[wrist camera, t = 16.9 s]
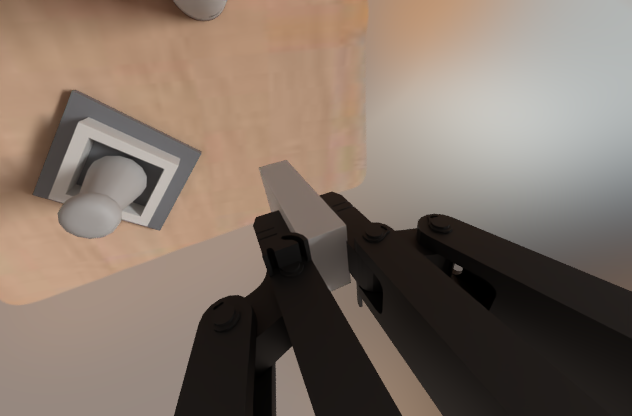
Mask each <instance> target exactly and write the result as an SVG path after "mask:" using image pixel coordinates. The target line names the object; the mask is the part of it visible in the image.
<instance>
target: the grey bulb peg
mask: <svg viewBox="0 0 632 416" xmlns="http://www.w3.org/2000/svg"><path fill="white" fill-rule="evenodd" d="M146 183H147V176H146V174H145V172H144V170H143V168H142V167H141V166H140V165H138V164H137V163H136V162H134V161H133V160H131V159H128V158H125V157H122V156H104V157H102V158H100V159H98V160H96V161H94V162H93V163H92V165H91V166H90V167H89V169H88V170H87V173H86V176H85V179H84V182H83V184H82V187H81V190H80V193H79V194H77V195H75V196H73V197H71V198H69V199H68V200H66V201H65V202H64V204H63V205H62V207H61V208H60V210H59V212H58V220H59V223H60V225H61V226H62V227H63V228H64V229H65V231H67V232H69V233H71V234H73V235H75V236H77V237H83V238H88V239H93V238H101V237H104V236H106V235H108V234H110V233H112V232H113V231H114V230H115V229H116V228H117V226H118V225H119V223H120V222H121V219H122V211H123V210H124V209H125V208H126V207H127V206H128V205H129V204H131V203H132V202H133V201H134V200H135V199H136V198H137V197H139V196H140V195H141V194H142V192H143V191H144V189H145V188H146Z"/></svg>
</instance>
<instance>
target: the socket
mask: <svg viewBox="0 0 632 416" xmlns="http://www.w3.org/2000/svg"><path fill="white" fill-rule="evenodd" d="M200 155H201V151H199V150H197V149H195V148H193V147H191V146H189V145H187V144H185V143H183V142H181V141H179V140H177V139H175V138H173V137H171V136H169V135H167V134H165V133H163V132H161V131H159V130H157V129H155V128H153V127H151V126H148V125H146V124H144V123H142V122H140V121H138V120H136V119H134V118H132V117H130V116H128V115H126V114H124V113H122V112H120V111H118V110H116V109H114V108H112V107H110V106H108V105H106V104H104V103H102V102H100V101H98V100H96V99H94V98H92V97H90V96H88V95H85V94H83V93H81V92H79V91H77V90H72V92H71V95H70V98H69V100H68V103H67V105H66V108H65V111H64V113H63V116H62V119H61V121H60V124H59V127H58V129H57V132H56V134H55V137H54V140H53V142H52V145H51V148H50V150H49V153H48V156H47V158H46V161H45V163H44V166H43V169H42V171H41V174H40V177H39V179H38V182H37V185H36V187H35V190H34V192H33V195H35V196H38V197H42V198H45V199H49V200H53V201H56V202H60V203H63V204H64V202H65V201H66V200H68V199H69V198H71V197H73V196H75V195H77V194H79V193H80V190H81V187H82V184H83V182H84V179H85V176H86V173H87V170H88V169H89V167H90V166H91V165H92V163H93V162H94V161H96V160H98V159H100V158H102V157H104V156H122V157H125V158H128V159H131V160H133V161H134V162H136V163H137V164H138V165H140V166H141V167H142V168H143V170H144V172H145V174H146V176H147V183H146V188H145V189H144V191H143V192H142V194H141V195H140V196H139V197H137V198H136V199H135V200H134V201H133V202H132V203H131V204H129V205H128V206H127V207H126V208H125V209H124V210H123V211H122V219H121V220H124V221H128V222H131V223H135V224H138V225H142V226H146V227H149V228H153V229H156V230H161V228H162V226H163V224H164V222H165V220H166V219H167V217H168V215H169V213H170V211H171V209H172V207H173V205H174V204H175V202H176V200H177V198H178V196H179V194H180V192H181V190H182V189H183V187H184V185H185V183H186V181H187V179H188V177H189V176H190V174H191V172H192V170H193V168H194V166H195V164H196V162H197V161H198V159H199V157H200Z"/></svg>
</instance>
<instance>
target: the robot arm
mask: <svg viewBox="0 0 632 416" xmlns="http://www.w3.org/2000/svg"><path fill="white" fill-rule="evenodd" d="M259 170H260V174H261V177H262V181H263V184H264V188H265V191H266V195H267V198H268V202H269V206H270V209H271V213H268V214H265V215H262V216H259V217H256V219H255V222H254V225H253V227H254V230H255V233H256V236H257V239H258V242H259V245H260V248H261V251H262V257H263V260H264V262H265V265H266V268H267V273H266V277H265V279H264V281H263V282H262V283H261V285H260V286H259V287H258V288H257V289H256V290H254V291H253V292H252V293H250V294H249V295H248V296H246V297H242V296H239V295H234V296H227V297H225V298H222V299H219V300H218V301H217V302H215V303H214V304H212V305H211V306H210V307H209V308H208V309H207V310H206V312H205V313H204V314H203V316H202V318H201V320H200V322H199V325H198V329H197V332H196V337H195V340H194V344H193V347H192V351H191V355H190V358H189V362H188V366H187V370H186V373H185V377H184V381H183V384H182V388H181V392H180V396H179V399H178V403H177V406H176V410H175V414H174V416H276V368H275V362H276V361H277V360H278V359H279V358H280V357H281V356H282V355H283V354H284V353H285V352H286V351H287V350H289V348H291V347H292V346H293V349H294V352H295V355H296V358H297V361H298V364H299V368H300V371H301V374H302V376H303V380H304V383H305V386H306V388H307V392H308V395H309V398H310V401H311V404H312V406H313V410H314V413H315V416H402V415H401V413H400V411H399V409H398V408H397V406H396V404H395V403H394V401H393V399H392V397H391V396H390V394H389V392H388V390H387V389H386V387H385V385H384V384H383V382H382V380H381V378H380V377H379V375H378V373H377V372H376V370H375V368H374V366H373V364H372V363H371V361H370V359H369V358H368V356H367V354H366V353H365V351H364V349H363V347H362V346H361V344H360V342H359V340H358V339H357V337H356V335H355V333H354V332H353V330H352V328H351V327H350V325H349V323H348V321H347V320H346V318H345V316H344V315H343V313H342V311H341V309H340V308H339V306H338V304H337V302H336V301H335V299H334V297H333V295H332V294H331V291H333V290H336V289H338V288H340V287H342V286H344V285H347V284H349V283H351V280H350V273H351V275H352V276H353V277H354V279H355V280H356V282H357V300H358V304H359V307H362V299H363V301H364V302H365V304H366V305H367V306H368V308H369V309H370V311H371V312H372V314H373V315H374V317H375V318H376V319H377V321H378V322H379V324H380V325H381V327H382V328H383V329H384V331H385V332H386V334H387V335H388V337H389V338H390V340H391V341H392V343H393V344H394V346H395V347H396V348H397V350H398V351H399V353H400V354H401V356H402V357H403V358H404V360H405V361H406V363H407V364H408V366H409V367H410V369H411V370H412V372H413V373H414V374H415V376H416V377H417V379H418V380H419V382H420V383H421V385H422V386H423V387H424V389H425V390H426V392H427V393H428V395H429V396H430V398H431V399H432V401H433V402H434V403H435V405H436V406H437V408H438V409H439V411H440V412H441V414H442V415H443V416H632V292H631V291H629V290H626V289H624V288H622V287H619V286H617V285H614V284H612V283H610V282H607V281H605V280H602V279H600V278H597V277H595V276H593V275H590V274H588V273H585V272H583V271H581V270H578V269H576V268H573V267H571V266H568V265H566V264H563V263H561V262H559V261H556V260H554V259H552V258H549V257H546V256H544V255H542V254H539V253H537V252H535V251H532V250H530V249H527V248H525V247H522V246H520V245H518V244H515V243H512V242H510V241H508V240H506V239H503V238H501V237H498V236H496V235H493V234H491V233H489V232H486V231H484V230H481V229H479V228H476V227H474V226H472V225H469V224H467V223H464V222H462V221H460V220H457V219H455V218H452V217H449V216H446V215H441V214H430V215H426V216H424V217H421V218H420V219H419V221H418V225H417V228H416V229H407V230H399V231H394V230H393V229H392V228H390V227H389V226H387V225H385V224H382V223H371V222H370V221H369V220H368V219H367V218H366V217H365V216H364V215H363V214H361V213H360V212H359V211H358V210H357V209H356V208H355V207H353V206H352V204H351V203H350V202H348V201H347V200H346V199H345V198H344V197H343V196H342V195H340V194H337V193H334V192H329V193H326V194H323V195H320V196H319V195H318V194H317V193H316V192H315V191H314V189H313V188H312V187H311V186H310V185H309V184H308V183H307V182H306V181H305V180H304V179H303V177H302V176H301V175H300V174H299V173H298V172H297V171H296V170H295V169H294V168H293V167H292V165H291V164H290V163H289V162H288V161H287V160H284V161H281V162H277V163H273V164H270V165H266V166H262V167H259ZM454 264H457V265H459V266H461V267H462V268H463V270H462V271H456V270H454V269H453V268H454Z"/></svg>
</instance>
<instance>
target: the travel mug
mask: <svg viewBox="0 0 632 416" xmlns="http://www.w3.org/2000/svg"><path fill="white" fill-rule="evenodd" d="M173 1H174V3H175V4H176V5H177V7H178V8H179V9H180V10H181V11H182V12H184V13H185V14H186V15H188V16H189V17H191V18H193V19H196V20H200V21H209V20H213V19H215V18H216V17H218V16H219V15H220V14H221V13H222V11H223V9H224V7H225V4H226V2H227V0H173Z"/></svg>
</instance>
